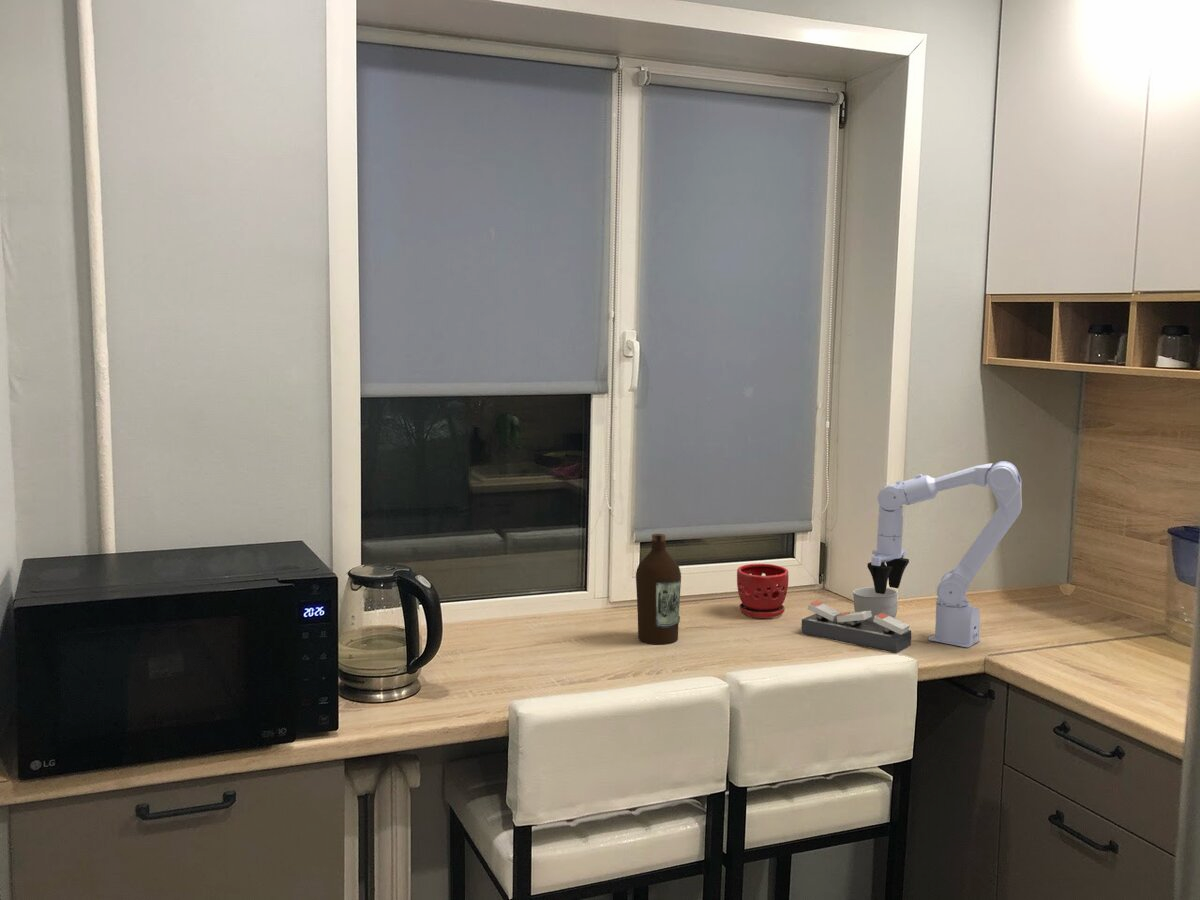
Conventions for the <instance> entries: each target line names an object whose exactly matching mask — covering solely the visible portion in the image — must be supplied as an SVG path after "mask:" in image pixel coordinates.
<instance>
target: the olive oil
mask: <svg viewBox="0 0 1200 900" xmlns="http://www.w3.org/2000/svg"><path fill="white" fill-rule="evenodd" d="M651 538H652V539H651V541H650V542H651V550H650V552H649V553H648V554H647V555H646V556H645V557H644V558H643V559H642V560H641V561H640V562H639V563H638V565H637V569H636V571H635V572H636V573H635V586H636V605H637V606H636V607H637V634H638V635H637V636H638V637H637V638H638V640H639V639H640V640H641V641H640V640H639V641H640V642H642V641H643V642H642V643H645V642H647V643H646V644H649V643H654V644H653V645H667V644H668V643H669V644H674V643H675V642H677V641H678V639H679V624H680V621H681V617H680V600H681V589H682V588H681V587H682V586H681V584H682V573H681V569H680V566H679V564H678V563H677V562H676V560H675V559H674V558H673V557H672V556H671V555H670V554H669V552H668V551H667V550H666V549H667V540H666V534H665V533H653V534H651ZM666 643H667V644H666ZM669 644H668V645H669Z"/></svg>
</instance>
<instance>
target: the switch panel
mask: <svg viewBox="0 0 1200 900" xmlns="http://www.w3.org/2000/svg"><path fill="white" fill-rule="evenodd" d="M801 635H806V636H811V637H816V638H821V639H826V640H829V641H830V640H831V641H835V642H840V643H846V644H849V645H854V646H860V647H863V648H868V649H869V648H870V649H874V650H879V651H884V652H889V653H893V654H897V653H899V652H901V651H903V650H905V649H907V648H909V647H910V645H911V646H912V630H910V629H908V631H907V632H905V633H903V634H901V635H900V634H898V633H896V632H894V631H892V630H890V629H888V628H886V627H883V626H881V625H879V624H874V623H869V622H864V621H862V620H858V621H848V622H838V621H837V620H834V621H831V620H829V619H827V618H824V617H822V616H820V615H818V614H816V613H814V614H812V615H809V616H807V617H804V618H801ZM908 646H909V647H908Z"/></svg>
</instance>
